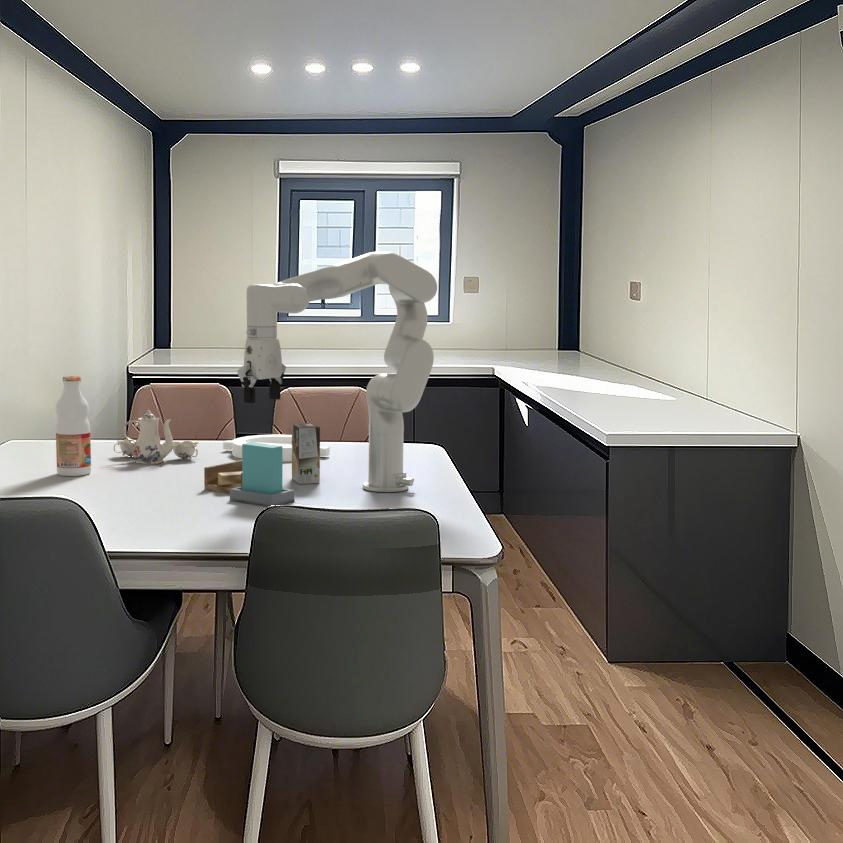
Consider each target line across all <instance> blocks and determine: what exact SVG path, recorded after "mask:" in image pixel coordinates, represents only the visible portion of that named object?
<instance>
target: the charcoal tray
mask: <svg viewBox="0 0 843 843" xmlns="http://www.w3.org/2000/svg"><path fill="white" fill-rule="evenodd" d="M295 492H296V491H295V489H290V488H284V487H282V492H280V493H276V494H272V495H270V494H264V493H258V492H252V491H245V490H242V486H241V487H236V488H232V489H230V494H229V502H230V501H231V502H237V503H241V504H247V505H248V504H249V505H254V506H261V507H266V508H269V507H268V506H271V505H280V506H282V505H281V504H283V505H287V504H291V503H294V502H295Z"/></svg>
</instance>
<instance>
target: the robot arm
mask: <svg viewBox="0 0 843 843" xmlns="http://www.w3.org/2000/svg"><path fill="white" fill-rule="evenodd" d="M376 285H387V286H388V291H389V293H390V296H391V297H392V299H393V301H394V303H395V307H396V319H395V323H394V325H393V329H392V331H391V334H390V337H389V339H388V342H387V344H386V348H385V350H384V352H383V353H384V355H383V360H384V363H385V365H386V366H387V367H388V368H389V369H391V370H394V371H396V373H395V374H392V373H379V374H376V375H375V376H373V377H372V378H371V379H370V380H369V382H368V384H367V386H366V393H365V394H366V396H365V397H366V402H367V411H368V478H367V480H368V481H365V482H363V483H362V489H363V490H366V491H368V492H374V493H375V492H376V493H377V492H378V493H396V492H397V493H398V492H403V491H406V490H408V489H409V487H412V486H414V483H415V478H414V477H407V472H406V471H404V431H405V426H404V425H405V424H404V416H403V413H408V412H411V411H412V410H414V409H415V408H416V407H417V406H418V405H419V402H420V401H421V398H422V397H423V393H424V391H425V388H426V386H427V383H428V380H429V378H430V376H431V375H430V374H431V372H432V369H433V365H434V360H435V359H434V358H435V356H434V355H435V354H434V351H433V348H432V345H430V343H429V342H427V341H426V340H424V339H423V338H424V336H425V333H426V330H427V325H428V320H429V319H428V311H427V307H426V303H429V302H430V301H432V300H433V298H435V296H436V295H437V291H438V283H437V280H436V278H435V277H434V275H433V274H432V273H431V272H429V271H428V270H427V269H424V268H422V267H421V266H419V265H417V264H415V263H413V262H412V261H410V260H408V259H407V258H404V257H403V256H401V255H400V254H397V253H396V252H395V253H394V252H391V251H372V252H367V253H365V254H361V255H358V256H355V257H353V258H350V259H348V260H345V261H342V262H338V263H335V264H332V265H329V266H326V267H322V268H320V269H315V270H314V271H311V272H307V273H303V274H300V275H296V276H294V277H290V278H288V279H283V280H282V281H278V282H276V283H273V284H265V283H264V284H263V283H261V284H260V283H255V284H254V283H253V284H249V285H248V287H246V331H245V332H246V340H245V346H244V355H243V365H242V366H240V368H239V369H237V371H236V372H237V375H238V378H239V382H240V383H241V387H243V402H244V403H245V404H255V403H256V387H254V385H255V384H256V382H257V380H269V381H270V383H269V386H268V387H269V388H268V389H269V395H268V396H269V399H270V400H277V401H278V400H281V385H282V384H283V379H284V378H285V372H286V369H287V366H286V365H284V363H283V359H282V350H281V349H282V348H281V344H280V340H279V338H278V313H286V314H299V313H302V312H303V311H305V310H306V309H307V308H308V306H309V305H310V302H314V301H319V300H320V301H321V300H333V299H337V298H343V297H346V296H348V295H352V294H354V293H356V292H358V291H362V290H364V289H368V288H370V287H374V286H376Z"/></svg>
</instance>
